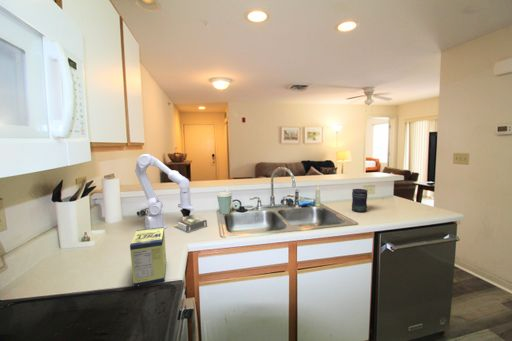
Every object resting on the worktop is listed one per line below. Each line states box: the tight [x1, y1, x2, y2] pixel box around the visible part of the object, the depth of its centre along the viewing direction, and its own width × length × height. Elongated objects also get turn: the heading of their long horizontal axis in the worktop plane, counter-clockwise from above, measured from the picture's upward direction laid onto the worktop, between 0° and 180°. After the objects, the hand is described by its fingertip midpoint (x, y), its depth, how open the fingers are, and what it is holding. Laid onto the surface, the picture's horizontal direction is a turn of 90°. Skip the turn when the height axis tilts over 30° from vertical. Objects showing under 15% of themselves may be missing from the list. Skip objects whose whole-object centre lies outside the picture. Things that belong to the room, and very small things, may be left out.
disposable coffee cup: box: [216, 190, 233, 215], centre depth 165 cm, size 11×11×15 cm
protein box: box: [129, 227, 167, 287], centre depth 90 cm, size 10×16×16 cm
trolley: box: [182, 214, 201, 225], centre depth 139 cm, size 7×9×5 cm
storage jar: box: [351, 188, 368, 214], centre depth 165 cm, size 10×10×15 cm
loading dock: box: [172, 219, 208, 234], centre depth 141 cm, size 13×17×5 cm
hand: (186, 220), depth 142 cm, fingers closed
